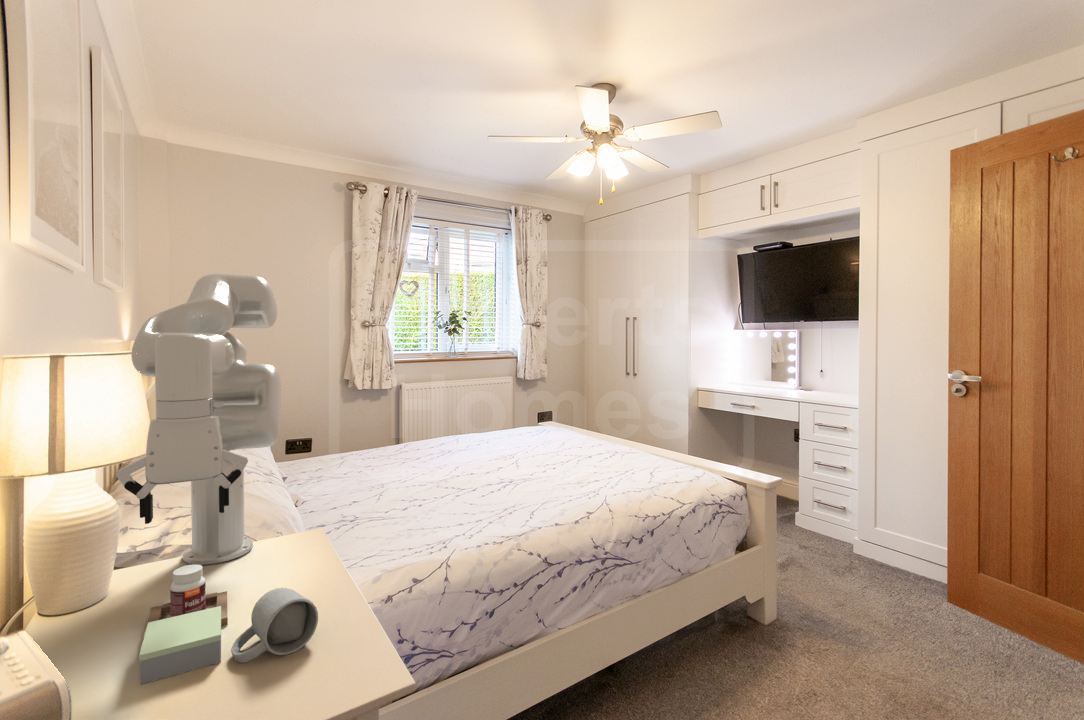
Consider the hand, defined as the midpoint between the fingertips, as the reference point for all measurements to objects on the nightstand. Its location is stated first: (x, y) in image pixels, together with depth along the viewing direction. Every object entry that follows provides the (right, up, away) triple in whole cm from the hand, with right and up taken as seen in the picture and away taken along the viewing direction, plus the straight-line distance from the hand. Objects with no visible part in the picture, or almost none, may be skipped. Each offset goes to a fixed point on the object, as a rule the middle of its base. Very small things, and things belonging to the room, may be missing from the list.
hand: (186, 515), depth 82 cm
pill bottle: (0, -18, +1) cm, 18 cm away
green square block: (+6, -18, -8) cm, 20 cm away
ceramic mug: (+17, -18, -6) cm, 26 cm away
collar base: (0, -17, +1) cm, 17 cm away
